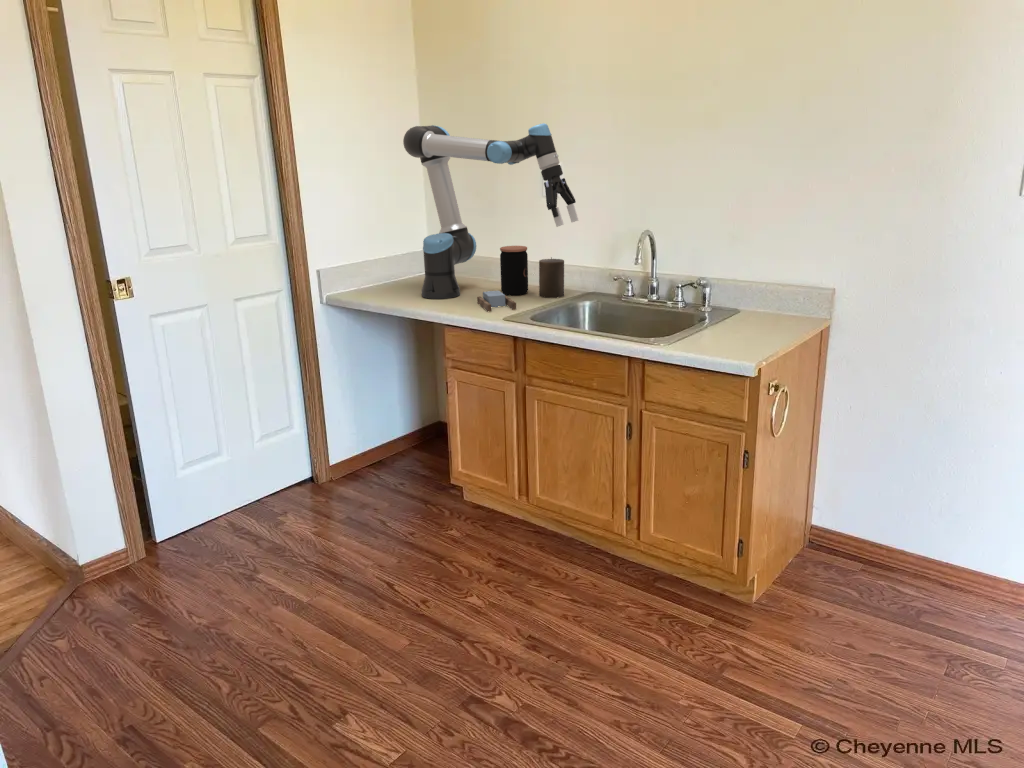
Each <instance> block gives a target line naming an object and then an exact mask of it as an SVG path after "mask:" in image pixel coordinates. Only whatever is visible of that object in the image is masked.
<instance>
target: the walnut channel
mask: <svg viewBox="0 0 1024 768" xmlns="http://www.w3.org/2000/svg"><path fill="white" fill-rule="evenodd" d="M476 299H477V300H476V301H477V304H478V305H479V304H480V305H481V306H482V307H481V306H480V305H479V306H480V307H481V308H483V309H484V308H485V309H486V310H487V311H486V310H485V309H484V310H485V311H486V312H488V311H492V308H491V304H489V303H488V302H487V301H486V300H484V299H483V296H477V297H476ZM507 305H508V306H509V307H508V306H507ZM505 306H507V307H508V308H510V309H511V308H512V309H511V310H513V309H516V310H517V302H515V300H513V299H511V298H510V297H508V295H505Z"/></svg>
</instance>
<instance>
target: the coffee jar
mask: <svg viewBox="0 0 1024 768" xmlns="http://www.w3.org/2000/svg"><path fill="white" fill-rule="evenodd" d="M499 250H500V252H501V253H500V254H499V258H500V259H499V261H500V263H499V264H500V267H499V268H500V292H501V293H503V294H504V295H506V296H508V295H511V296H512V297H513V296H514V297H516V296H523V295H526V294H527V293H528V291H529V262H528V261H529V259H528V256H529V255H528V252H527V251H528V246H525V245H506V246H505V245H504V246H500V248H499ZM511 296H510V297H511Z"/></svg>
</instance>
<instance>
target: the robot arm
mask: <svg viewBox="0 0 1024 768" xmlns="http://www.w3.org/2000/svg"><path fill="white" fill-rule="evenodd" d="M402 144H403V147H404V150H405V151H406V152H407V154H408V155H410V157H413V158H418V159H419V158H420V163H421V165H422V166H423V167H424V168H426V171H427V176H428V180H429V183H430V188H431V191H432V195H433V200H434V204H435V208H436V211H437V216H438V220H439V221H438V222H439V224H440V230H439V232H438V233H435V234H430V235H427V236H426V237H424V239H423V240H422V241H423V242H422V245H423V246H422V250H423V263H424V279H423V283H422V287H421V297H422V298H424V299H431V300H432V299H433V300H443V299H451V298H456V297H459V296H460V295H461V289H460V285H459V282H458V280H457V277H456V273H455V271H456V270H455V265H458V264H462V263H465V262H467V261H469V260H471V259H472V258H473V257H474V256H475V254H476V251H477V241H476V239H475V237H474V235H472V234H471V233H470V232H469V230H468V229H469V228H468V226H467V225H465V224H464V223H463V221H462V217H461V213H460V210H459V209H460V208H459V204H458V200H457V196H456V192H455V189H454V183H453V179H452V175H451V172H450V171H451V170H450V168H449V167H450V166H449V161H450V159H451V158H456V159H464V160H474V161H483V162H490V163H493V164H499V165H500V164H501V165H503V164H508V165H510V166H513V165H516V164H519V163H521V162H523V161H525V160H528V159H530V158H532V157H536V160H537V164H538V167H539V169H540V170H541V172H540V173H541V177H542V180H543V181H545V182H543V186H544V188H545V189H544V190H545V201H546V208H547V210H548V211H551V214H552V216H553V220H554V223H555V227H556V228H558V227H561V226H564V224H565V223H564V221H563V218H562V214H561V211H560V208H559V207H557V206H558V194H559V196H560V197H561V198H562V199H563V200H564V202H565V204H566V209H567V212H568V216H569V219H570V222H571V223H575V222H578V221H579V217H578V214H577V211H576V207H575V204H576V198H575V197H574V194H573V192H572V191H571V189H570V187H569V185H568V184H567V180H566V179H565V177H563V178H561V176H563V174H564V172H563V169H562V166H561V165H560V159H559V154H558V153H557V149H556V147H555V144H554V139H553V136H552V133H551V130H550V128H549V125H548V124H547V123H544V122H543V123H540V124H536V125H533V126H531V127H530V128H528V135H526V136H525V137H522V138H519V139H517V140H496V139H483V138H475V137H465V136H454V135H450V133H449V131H447V130H446V129H445V128H444V127H442V126H439V125H435V124H434V125H433V124H432V125H420V126H419V125H416V126H413V127H410V128H409V129H407V131H405V133H404V136H403V143H402Z"/></svg>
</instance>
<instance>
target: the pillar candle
mask: <svg viewBox="0 0 1024 768" xmlns="http://www.w3.org/2000/svg"><path fill="white" fill-rule="evenodd" d="M538 263H539V265H538V269H539V270H538V276H539V277H538V284H539V285H538V296H539V297H541V298H545V299H546V298H547V299H550V298H551V299H558V298H557V297H559V298H563V297H564V296H565V259H562V258H553V257H552V256H550V258H543V259H539V260H538ZM562 296H563V297H562Z"/></svg>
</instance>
